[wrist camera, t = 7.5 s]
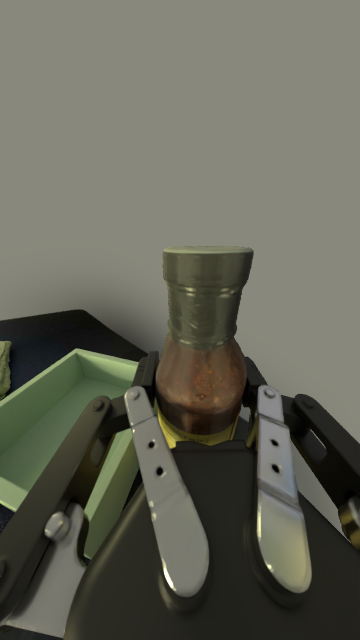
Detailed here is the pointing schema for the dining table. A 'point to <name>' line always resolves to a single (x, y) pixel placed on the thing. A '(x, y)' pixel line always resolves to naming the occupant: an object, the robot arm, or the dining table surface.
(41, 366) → the dining table surface
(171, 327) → the sauce bottle
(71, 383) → the sage green tray
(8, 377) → the washcloth
